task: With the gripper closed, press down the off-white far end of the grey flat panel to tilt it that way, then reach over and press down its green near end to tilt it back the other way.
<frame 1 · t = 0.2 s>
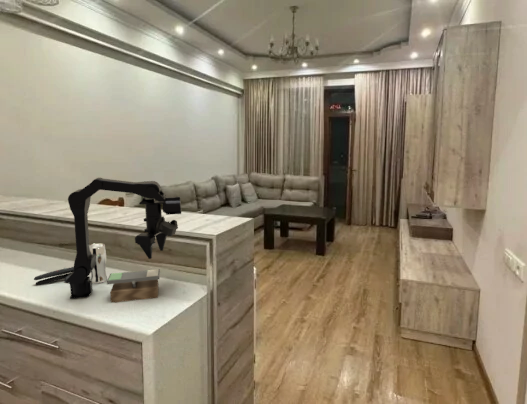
hand: (156, 254, 137), 14 cm above the countertop, tool pointing down, fingers open, 9 cm apart
grey flat panel: (134, 277, 132), point 7 cm above the countertop, hinge at 0.0°
can opener: (60, 282, 146), on the countertop
switch base: (135, 294, 134), on the countertop
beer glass: (99, 281, 146), on the countertop
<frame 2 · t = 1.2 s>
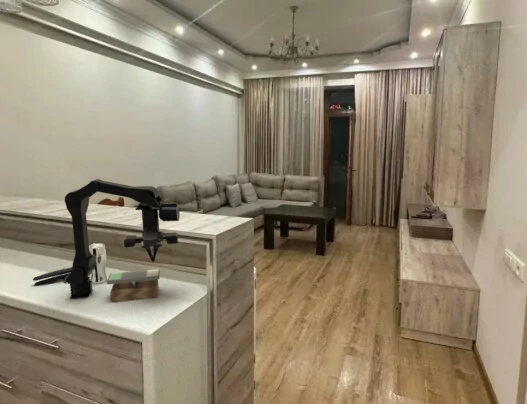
hand: (153, 261, 133), 13 cm above the countertop, tool pointing down, fingers closed
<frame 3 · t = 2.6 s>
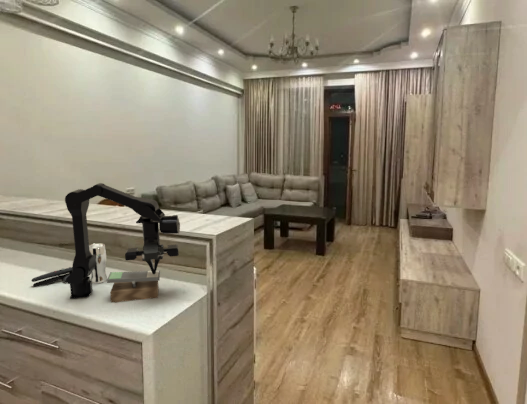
hand: (154, 273, 134), 8 cm above the countertop, tool pointing down, fingers closed, pressing on grey flat panel
grey flat panel: (134, 277, 133), point 7 cm above the countertop, hinge at 3.1°, touching gripper
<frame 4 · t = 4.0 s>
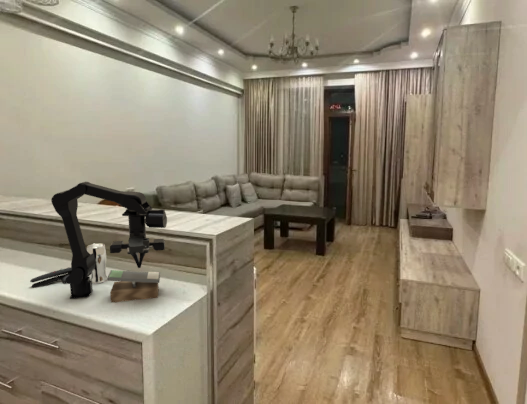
hand: (139, 267, 132), 11 cm above the countertop, tool pointing down, fingers closed
grey flat panel: (134, 277, 133), point 7 cm above the countertop, hinge at 8.7°
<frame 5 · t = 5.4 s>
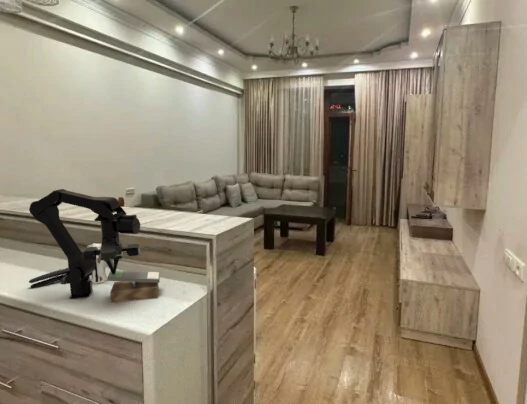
hand: (114, 273, 130), 9 cm above the countertop, tool pointing down, fingers closed, pressing on grey flat panel
grey flat panel: (134, 277, 133), point 7 cm above the countertop, hinge at 8.5°, touching gripper
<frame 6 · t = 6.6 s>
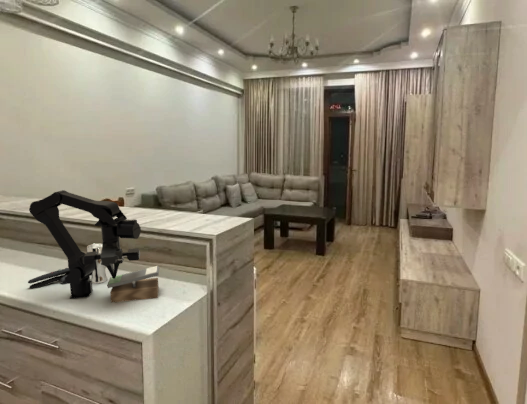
hand: (114, 278, 131), 7 cm above the countertop, tool pointing down, fingers closed
grey flat panel: (134, 277, 132), point 7 cm above the countertop, hinge at -9.9°
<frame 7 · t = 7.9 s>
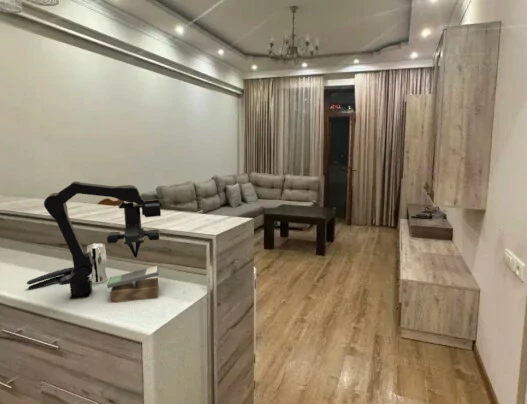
hand: (135, 257, 139), 12 cm above the countertop, tool pointing down, fingers closed
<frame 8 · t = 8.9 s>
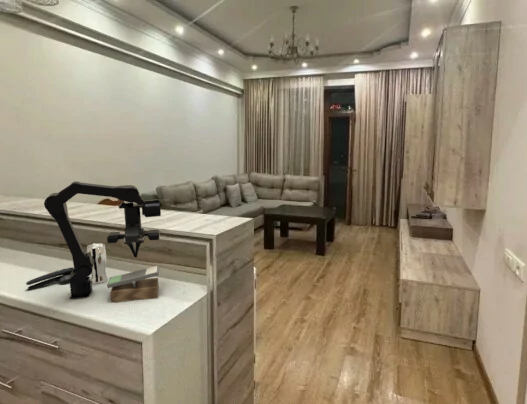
hand: (135, 257, 139), 12 cm above the countertop, tool pointing down, fingers closed
at the end: grey flat panel at -10° (first picture: +0°); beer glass moved 0.2 cm from its start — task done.
